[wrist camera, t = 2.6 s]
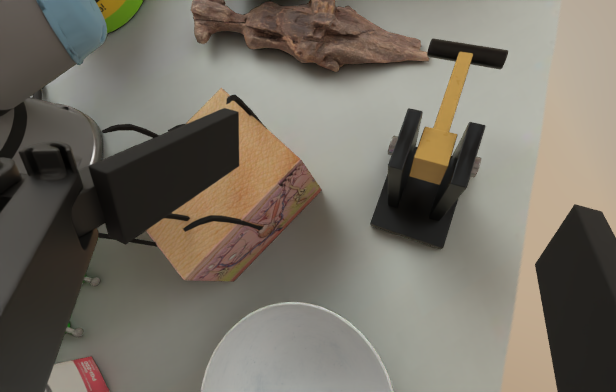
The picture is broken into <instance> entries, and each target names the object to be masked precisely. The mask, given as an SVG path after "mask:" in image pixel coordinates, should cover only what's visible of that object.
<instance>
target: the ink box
mask: <svg viewBox="0 0 616 392" xmlns="http://www.w3.org/2000/svg"><path fill="white" fill-rule="evenodd" d="M45 392H109V389H108V387H107V386H106V384H105V381H104V379H103V377H102V375H101V373H100V371H99V369H98V367H97V365H96V363H95V362H94V360H93V359H92V357H86V358H81V359H76V360H71V361H66V362H61V363H57V364H54V366H53V369H52V372H51V375H50V377H49V380H48V383H47V386H46V389H45Z"/></svg>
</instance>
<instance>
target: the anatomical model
mask: <svg viewBox="0 0 616 392" xmlns="http://www.w3.org/2000/svg"><path fill="white" fill-rule="evenodd" d="M223 108H227V109H230V110H234V111H238V112H239V167H237V168H236V169H234V170H233V171H232V172H230V173H229V174H227V175H226V176H224V177H223V178H221V179H220V180H218V181H217V182H216V183H214V184H213V185H211V186H210V187H208V188H207V189H205V190H204V191H203V192H201V193H200V194H198V195H197V196H195V197H194V198H192V199H191V200H190V201H188V202H187V203H185V204H184V205H182V206H181V207H179V208H178V209H176V210H175V211H174V212H172V213H171V214H169V215H168V216H166V217H165V218H163V219H162V220H161V221H159V222H158V223H156V224H155V225H153V226H152V227H150V228H149V229H148V230H146V232H147V233H148V234H149V235H150V237H151V238H152V239H153V241H154V242H151V241H145V240H140V239H133V240H132V241H130V242H132V243H139V244H145V245H151V246H158V247H159V248H160V250H161V251H162V252H163V254H164V255H165V256H166V258H167V259H168V260H169V262H170V263H171V264H172V265H173V267H174V268H175V269H176V271H177V272H178V273H179V275H180V276H181V277H182V279H183V280H196V281H235V280H236V279H237V278H238V276H239V275H240V274H241V273H242V272H243V271H244V270H245V269H246V268H247V267H248V266H249V265H250V264H251V263H252V262H253V261H254V260H255V259H256V258H257V257H258V256H259V255H260V254H261V253H262V252H263V251H264V250H265V249H266V247H267V246H268V245H269V244H270V243H271V242H272V241H273V240H274V239H275V238H276V237H277V236H278V235H279V234H280V233H281V232H282V231H283V230H284V229H285V228H286V227H287V226H288V225H289V224H290V223H291V222H292V221H293V220H294V219H295V217H296V216H297V215H298V214H299V213H300V212H301V211H302V210H303V209H304V208H305V207H306V206H307V205H308V204H309V203H310V202H311V201H312V200H313V199H314V198H315V197H316V196H317V195H318V194H319V193H320V192H321V191H322V190H321V188H320V187H319V185H318V184H317V182H316V181H315V180H314V178H313V177H312V175H311V174H310V172H309V171H308V169H307V168H306V166H305V165H304V163H303V162H302V160H301V159H300V158H299V157H297V156H296V155H295V154H294V153H293V152H292V151H291V150H290V149H289V148H287V147H286V146H285V145H284V144H283V143H282V142H281V141H280V140H279V139H278V138H276V137H275V136H274V135H273V134H272V133H271V132H270V131H269V130H268V129H267V128H266V127H265V126H264V125H263V124H262V122H261V121H260V120H259V119H258V118H257V116H256V115H255V114H254V113H253V112H252V111H251V110H250V109H249V108H248V106H247V105H246V104H245V103H244V102H243V101H242V100H241V99H240V98H239V97H237V96H236V95H231V96H230V95H229V94H228V93H227V92H226V91H224V90H223V89H222V88H221V89H220V90H219V91H218V92H217V93H216V94H215V95H214V96H213V97H212V98H211V99H210V100H209V101H208V102H207V103H206V104H205V105H204V106H203V107H202V108H201V109H200V110H199V111H198V112H197V113H196V114H195V115H194V116H193V117H192V118H191V119H190V120H189V121H188V122H187V123H186V124H188V123H190V122H192V121H195V120H197V119H199V118H202V117H204V116H206V115H209V114H211V113H213V112H216V111H218V110H220V109H223ZM183 125H185V124H181V125H178V126H175V127H173V128H172V129H170V130H168V131H172V130H174V129H176V128H179V127H181V126H183ZM117 130H134V131H137V132H140V133H142V134H145V135H148V136H150V137H153V138H155V137H158V136H160V135H157V134H155V133H153V132H151V131H149V130H147V129H144V128H141V127H138V126H135V125H131V124H121V125H115V126H111V127H109V128H107V129H105V130H103V131H102V132H103V133H107V132H112V131H117ZM98 237H99V238H106V239H113V238H111V237H109V234H102V233H98ZM113 240H115V239H113Z"/></svg>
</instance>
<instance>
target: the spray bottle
mask: <svg viewBox="0 0 616 392" xmlns="http://www.w3.org/2000/svg"><path fill="white" fill-rule="evenodd" d="M95 1H96V3H97V5H98V7H99V8H100V10H101V12H102V15H103V17H104V19H105V22H106V26H107V33H109V32H112V31H114V30H116V29H118V28H119V27H121V26H122V25H124V24H125V23H126V22H128V21H129V20H130V19H131V18H132V17H133V16H134V14H135V13H136V12H137V11H138V9H139V8H140V6H141V4H142V2H143V0H95Z"/></svg>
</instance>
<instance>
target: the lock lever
mask: <svg viewBox="0 0 616 392" xmlns="http://www.w3.org/2000/svg"><path fill="white" fill-rule="evenodd" d="M507 55H508V50H502V49H496V48H490V47H483V46H477V45H471V44H464V43H458V42H452V41H445V40H439V39H432V40H431V42H430V45H429V49H428V53H427V56H428V57H433V58H439V59H444V60H450V61H456V63H455V66H454V69H453V72H452V74H451V77H450V80H449V83H448V86H447V89H446V92H445V95H444V98H443V101H442V104H441V107H440V110H439V113H438V116H437V119H436V122H435V124H434V127H433V128H429V127H425V128H424V131H423V133H422V136H421V139H420V142H419V145H418V147H417V150H416V153H415V156H414V159H413V163H412V167H411V171H410V175H409V176H410V177H414V178H417V179H421V180H424V181H428V182H431V183H435V184H438V185H440V184H441V181H442V179H443V177H444V174H445V172H446V170H447V168H448V165H449V161H450V158H451V155H452V151H453V148H454V145H455V141H456V138H457V134H454V133H450V132H449V130H450V127H451V124H452V121H453V117H454V114H455V111H456V108H457V105H458V101H459V98H460V95H461V92H462V89H463V85H464V82H465V79H466V76H467V73H468V69H469V66H470V64H473V65H478V66H484V67H490V68H496V69H502V67H503V65H504V63H505V61H506V58H507Z"/></svg>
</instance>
